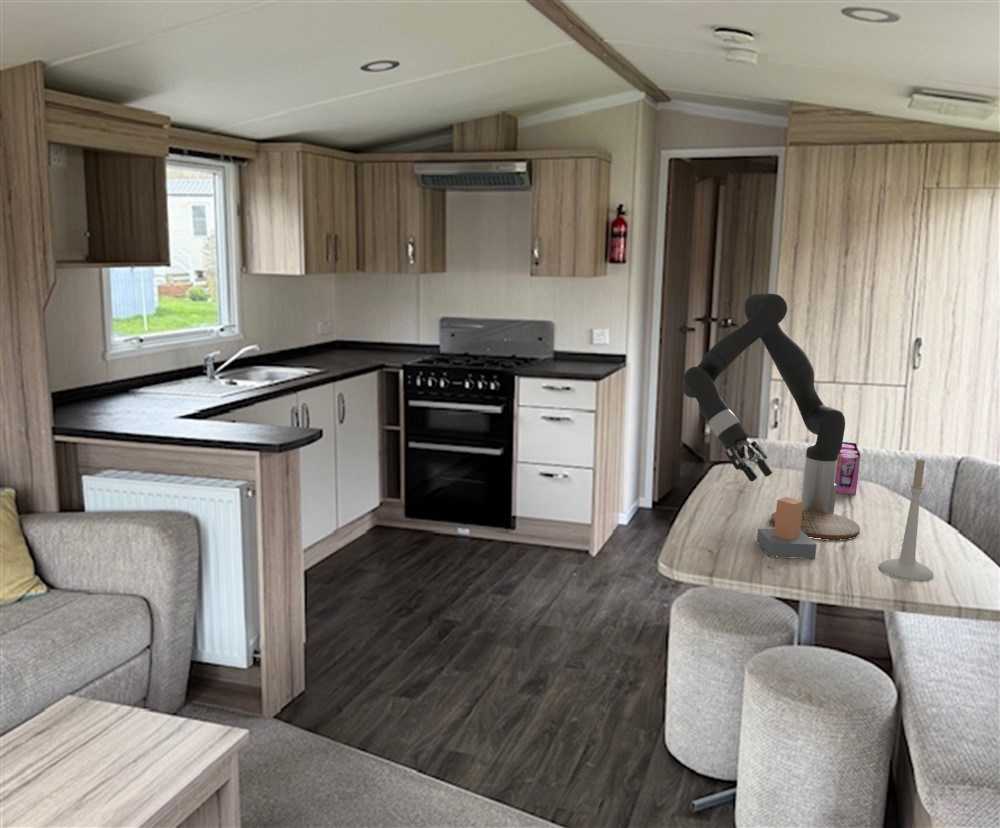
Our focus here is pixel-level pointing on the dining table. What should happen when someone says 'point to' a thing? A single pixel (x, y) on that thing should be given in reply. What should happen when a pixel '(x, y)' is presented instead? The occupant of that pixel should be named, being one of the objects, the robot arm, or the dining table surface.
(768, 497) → the dining table surface
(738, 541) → the dining table surface
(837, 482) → the gum box
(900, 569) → the candlestick
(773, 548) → the charcoal plinth
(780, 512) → the terracotta block
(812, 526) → the trivet
